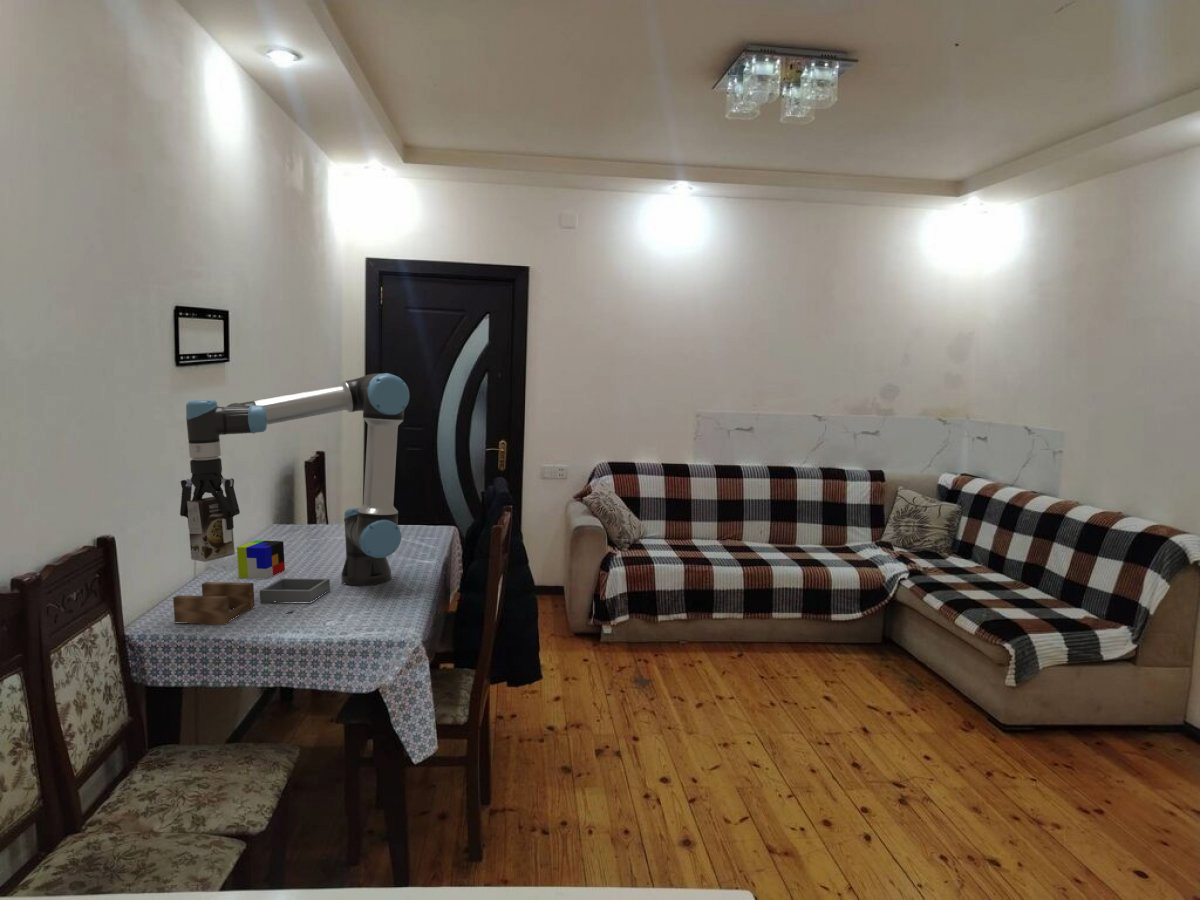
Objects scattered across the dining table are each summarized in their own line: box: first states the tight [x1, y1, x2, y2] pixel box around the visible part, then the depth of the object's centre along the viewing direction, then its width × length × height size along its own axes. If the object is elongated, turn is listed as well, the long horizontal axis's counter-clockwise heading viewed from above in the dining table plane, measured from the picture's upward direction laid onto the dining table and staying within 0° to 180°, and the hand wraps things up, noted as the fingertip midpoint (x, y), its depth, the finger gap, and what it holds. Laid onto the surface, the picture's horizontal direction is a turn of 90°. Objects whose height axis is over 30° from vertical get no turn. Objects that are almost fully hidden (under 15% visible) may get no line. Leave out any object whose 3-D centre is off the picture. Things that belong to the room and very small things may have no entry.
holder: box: [172, 581, 256, 625], centre depth 220 cm, size 14×15×7 cm
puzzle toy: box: [236, 539, 286, 580], centre depth 263 cm, size 10×10×10 cm
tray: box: [259, 577, 331, 603], centre depth 237 cm, size 15×13×4 cm
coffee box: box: [187, 496, 235, 563], centre depth 218 cm, size 9×6×16 cm
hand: (212, 541), depth 219 cm, fingers closed on coffee box, 8 cm apart
